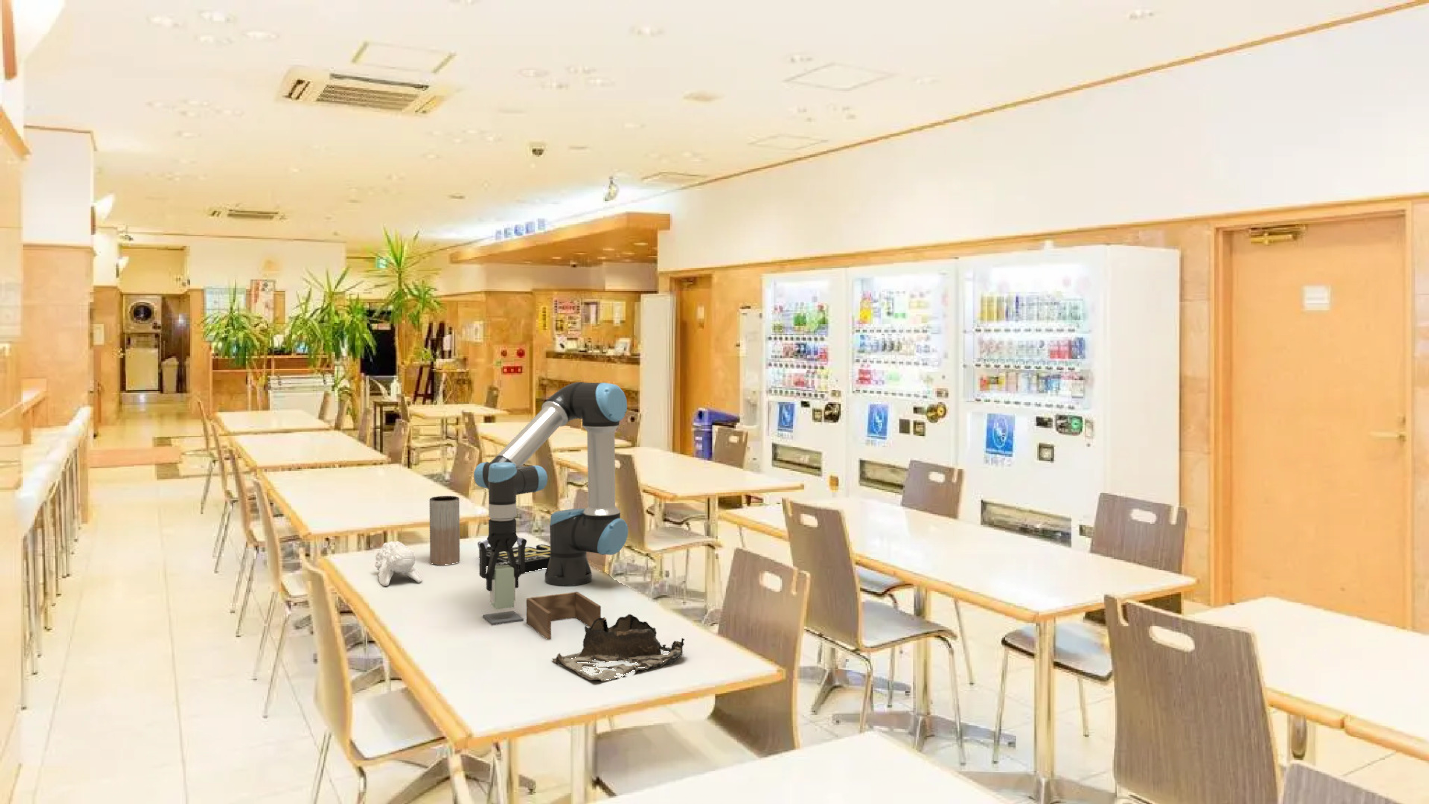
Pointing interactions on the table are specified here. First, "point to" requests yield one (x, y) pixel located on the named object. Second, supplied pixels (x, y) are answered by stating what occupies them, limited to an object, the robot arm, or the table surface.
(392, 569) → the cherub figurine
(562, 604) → the brown wooden frame
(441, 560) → the planter
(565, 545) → the robot arm
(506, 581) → the block
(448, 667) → the table surface
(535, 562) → the sign
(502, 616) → the mat
